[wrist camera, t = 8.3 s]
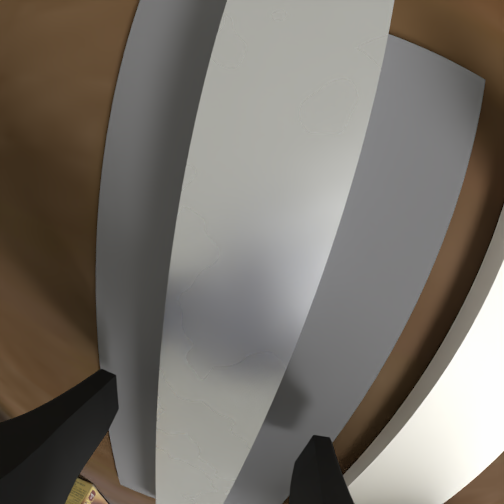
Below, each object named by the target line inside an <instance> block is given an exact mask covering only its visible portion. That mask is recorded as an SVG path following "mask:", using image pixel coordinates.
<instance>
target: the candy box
mask: <svg viewBox="0 0 504 504" xmlns="http://www.w3.org/2000/svg"><path fill="white" fill-rule="evenodd" d="M65 504H108V503H107V502H106V500H105V499H104V498H103V497H102V495H101V494H100V493H99V492H98V490H97V488H96V487H95V485H94V484H92V483H90V482H87V481H85V480H82V479H80V478H78V477H77V479H76V481H75V483H74V485H73V487H72V489H71V492H70V494H69V496H68V498H67V500H66V503H65Z"/></svg>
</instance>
